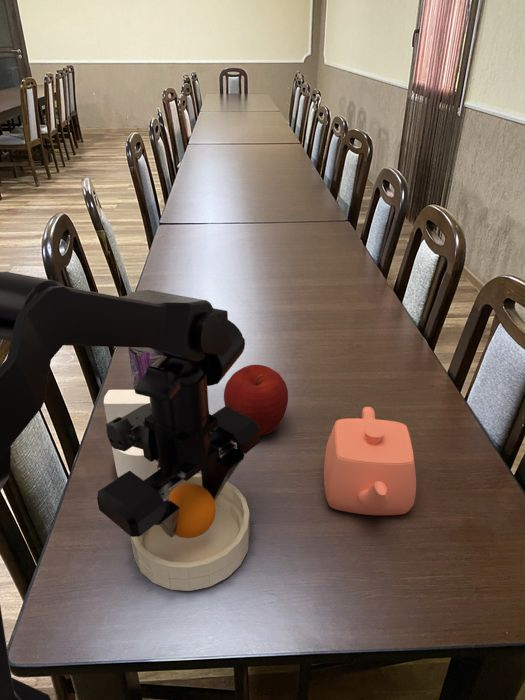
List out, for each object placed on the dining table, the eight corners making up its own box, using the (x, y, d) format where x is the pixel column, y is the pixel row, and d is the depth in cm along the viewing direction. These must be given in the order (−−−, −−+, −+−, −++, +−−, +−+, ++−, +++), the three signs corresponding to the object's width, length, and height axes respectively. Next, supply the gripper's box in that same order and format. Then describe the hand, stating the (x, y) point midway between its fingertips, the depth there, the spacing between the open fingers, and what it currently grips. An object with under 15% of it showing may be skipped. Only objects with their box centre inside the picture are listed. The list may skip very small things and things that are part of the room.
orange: (190, 559, 59) (186, 521, 56) (154, 530, 63) (148, 494, 59) (227, 526, 63) (225, 489, 60) (191, 500, 67) (188, 465, 63)
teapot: (401, 451, 78) (412, 393, 72) (421, 556, 63) (437, 492, 57) (322, 446, 79) (327, 388, 73) (322, 548, 63) (328, 484, 58)
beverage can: (144, 385, 92) (135, 323, 85) (184, 389, 91) (179, 326, 85) (129, 410, 86) (119, 346, 79) (172, 414, 85) (166, 350, 79)
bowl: (189, 618, 56) (187, 591, 54) (110, 547, 63) (104, 521, 61) (272, 536, 65) (272, 510, 62) (194, 483, 72) (192, 458, 70)
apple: (225, 450, 78) (223, 394, 73) (224, 410, 86) (222, 357, 81) (290, 447, 79) (293, 391, 73) (283, 407, 87) (284, 354, 81)
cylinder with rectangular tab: (109, 489, 71) (95, 418, 65) (123, 444, 79) (112, 376, 73) (177, 489, 71) (170, 418, 65) (185, 443, 79) (179, 376, 73)
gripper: (192, 347, 64) (199, 446, 73) (52, 422, 52) (79, 531, 60) (263, 381, 58) (262, 485, 66) (123, 475, 46) (143, 589, 54)
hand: (190, 518), depth 62 cm, fingers closed on orange, 6 cm apart
